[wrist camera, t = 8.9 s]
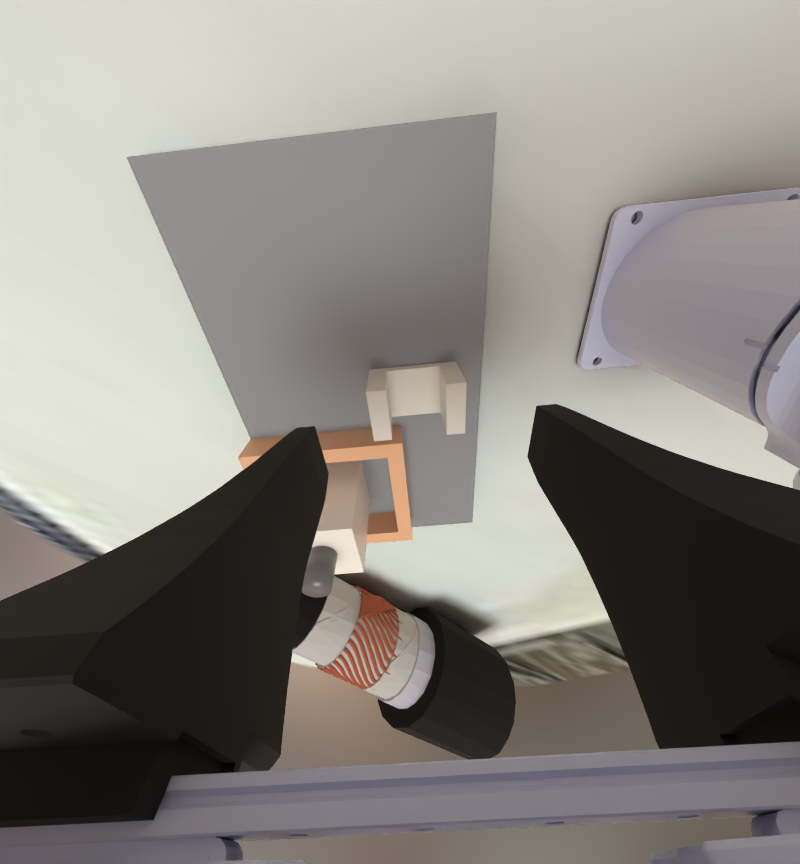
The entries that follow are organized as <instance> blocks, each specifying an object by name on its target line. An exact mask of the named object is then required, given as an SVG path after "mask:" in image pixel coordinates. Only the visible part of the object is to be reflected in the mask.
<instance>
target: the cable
mask: <svg viewBox="0 0 800 864" xmlns="http://www.w3.org/2000/svg"><path fill="white" fill-rule="evenodd" d="M292 652H293V653H295V654H297V655H299V656H302V657H304V658H306V659H308V660H310V661H313V662H315V663H316V664H315V665H317V666H318V667H317V668H318V669H320V670H322V671H324V672H326V673H328V674H332V675H333V676H335V677H337V678H341V679H342V680H344V681H346V682H349V683H351V684H353V685H355V686H357V687H358V688H361V689H363V690H365V691H367V692H370V693H372V694H374V695H375V696H376V698H378V703H379V706H380V710H381V713H382V716H383V717H384V718H385V720H386V721H387V722H388V723H389V724H390V725H391V726H392V727H393V728H395V729H397V730H400V731H402V732H404V733H407V734H409V735H412V736H414V737H416V738H419V739H421V740H424V741H426V742H428V743H431V744H433V745H435V746H438V747H440V748H442V749H445V750H447V751H449V752H452V753H454V754H457V755H459V756H461V757H464V758H466V759H468V760H472V759H490V758H492V757H493V756H495V755H497V754H499V752H500V751H501V749H502V748H503V746H504V745H505V743H506V741H507V740H508V738H509V735H510V732H511V729H512V726H513V723H514V715H515V703H516V701H515V689H514V682H513V679H512V677H511V674H510V671H509V668H508V665H507V663H506V661H505V660H504V659H503V658H502V656H501V655H500V654H499V653H498V651H497V650H496V649H495V648H493V647H491V646H490V645H488V644H486V643H485V642H483V641H481V640H480V639H478V638H476V637H475V636H473V635H472V634H470V633H468V632H467V631H465V630H463V629H462V628H460V627H458V626H457V625H455V624H453V623H452V622H450V621H448V620H447V619H445V618H443V617H442V616H440V615H438V614H437V613H435V612H433V611H432V610H430V609H428V608H417V609H416V610H414V611H412V612H411V613H407V612H403V611H401V610H399V609H397V608H395V607H394V606H392V605H391V604H390V603H389V602H388V601H386V600H385V599H384V598H382V597H380V596H376V595H373V594H371V593H369V592H368V591H366V590H364V589H363V588H361V587H359V586H357V585H355V586H354V585H350V584H348V583H346V582H345V581H343V580H341V579H339V578H338V577H336V576H334V579H333V585H332V591H331V593H330V594H329V595H327V596H325V597H318V598H317V597H310V596H307V595H305V594H303V593H301V598H300V604H299V610H298V616H297V623H296V629H295V636H294V642H293V649H292Z"/></svg>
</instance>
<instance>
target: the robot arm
mask: <svg viewBox="0 0 800 864" xmlns="http://www.w3.org/2000/svg"><path fill="white" fill-rule="evenodd" d="M788 198H789V200H787V199H788ZM635 212H636V213H637V219H636V221H635V222H634V223H633V224H632V223H631V218H632V216H633V214H634V213H635ZM597 357H598V360H597V361H596V362H595V363H593V360H594V359H595V358H597ZM577 365H578V366H579V367H580V368H581V369H583V370H590V369H601V368H611V367H622V366H633V365H644V366H646V367H648V368H650V369H652V370H654V371H656V372H658V373H660V374H662V375H664V376H666V377H668V378H670V379H672V380H674V381H676V382H678V383H680V384H682V385H684V386H686V387H688V388H690V389H692V390H694V391H696V392H698V393H699V394H701V395H703V396H705V397H707V398H709V399H711V400H713V401H715V402H717V403H719V404H721V405H723V406H725V407H727V408H729V409H731V410H733V411H735V412H737V413H739V414H741V415H743V416H745V417H747V418H749V419H751V420H753V421H755V422H757V423H758V424H760V425H762V426H764V427H766V428H767V430H768V438H767V441H766V444H765V447H764V449H766V450H768V451H769V452H771V453H773V454H775V455H776V456H778V457H780V458H782V459H783V460H785V461H787V462H789V463H790V464H792V465H794V466H796V467H798V468H799V470H798V471H797V473H796V475H795V477H794V479H793V488H789V487H785V486H782V485H778V484H774V483H771V482H767V481H763V480H759V479H756V478H752V477H748V476H745V475H741V474H738V473H734V472H731V471H728V470H724V469H721V468H718V467H715V466H712V465H708V464H705V463H702V462H699V461H696V460H693V459H690V458H687V457H684V456H681V455H679V454H676V453H673V452H670V451H668V450H665V449H662V448H660V447H657V446H655V445H652V444H650V443H647V442H645V441H642V440H639V439H637V438H635V437H632V436H630V435H628V434H625V433H623V432H621V431H618V430H616V429H614V428H611V427H609V426H607V425H605V424H602V423H600V422H598V421H596V420H593V419H591V418H589V417H587V416H585V415H582V414H580V413H578V412H575V411H573V410H571V409H568V408H566V407H563V406H560V405H557V404H553V405H542V406H536V412H535V417H534V423H533V429H532V434H531V440H530V446H529V451H528V459H529V462H530V464H531V467H532V469H533V472H534V474H535V476H536V479H537V481H538V483H539V485H540V486H541V488H542V490H543V492H544V493H545V495H546V497H547V498H548V500H549V502H550V503H551V505H552V507H553V508H554V510H555V512H556V513H557V515H558V517H559V518H560V520H561V521H562V523H563V525H564V526H565V528H566V530H567V531H568V533H569V535H570V536H571V538H572V540H573V541H574V543H575V545H576V547H577V549H578V550H579V552H580V554H581V556H582V558H583V560H584V562H585V565H586V567H587V569H588V571H589V573H590V575H591V577H592V579H593V582H594V584H595V586H596V588H597V590H598V593H599V595H600V597H601V600H602V602H603V604H604V606H605V609H606V611H607V613H608V616H609V618H610V620H611V622H612V625H613V627H614V630H615V632H616V635H617V637H618V640H619V642H620V645H621V647H622V650H623V652H624V655H625V657H626V660H627V662H628V665H629V667H630V670H631V673H632V675H633V678H634V681H635V683H636V686H637V689H638V692H639V694H640V697H641V700H642V702H643V705H644V708H645V711H646V713H647V716H648V719H649V722H650V725H651V728H652V731H653V734H654V736H655V739H656V742H657V744H658V746H659V748H660V749H654V750H637V751H618V752H600V753H581V754H563V755H545V756H526V757H508V758H490V759H472V760H455V761H454V760H453V761H435V762H418V763H399V764H382V765H381V764H380V765H362V766H344V767H326V768H308V769H289V770H271V771H269V769H270V768H271V767H272V766H273V765H274V764H275V762H276V761H277V759H278V758H279V756H280V755H281V743H282V733H283V724H284V715H285V706H286V696H287V687H288V680H289V672H290V665H291V657H292V649H293V642H294V636H295V629H296V623H297V616H298V610H299V604H300V598H301V593H302V587H303V581H304V576H305V572H306V567H307V563H308V559H309V556H310V552H311V549H312V545H313V542H314V538H315V535H316V531H317V528H318V524H319V521H320V517H321V514H322V510H323V506H324V503H325V498H326V492H327V484H328V476H329V473H328V469H327V466H326V462H325V459H324V455H323V452H322V449H321V445H320V442H319V438H318V435H317V431H316V428H315V426H310V427H299V428H296V429H294V430H293V431H291V432H290V433H289V434H287V435H286V436H285V437H284V438H282V439H281V440H280V441H279V442H278V443H276V444H275V445H274V446H273V447H272V448H270V449H269V450H268V451H267V452H265V453H264V454H263V455H262V456H261V457H259V458H258V459H257V460H256V461H254V462H253V463H252V464H251V465H249V466H248V467H247V468H245V469H244V470H243V471H241V472H240V473H239V474H237V475H236V476H235V477H234V478H232V479H231V480H230V481H228V482H227V483H226V484H224V485H223V486H221V487H220V488H219V489H217V490H216V491H214V492H213V493H211V494H210V495H208V496H207V497H205V498H204V499H202V500H201V501H199V502H197V503H196V504H194V505H193V506H191V507H190V508H188V509H186V510H185V511H183V512H182V513H180V514H178V515H176V516H175V517H173V518H171V519H169V520H167V521H166V522H164V523H162V524H160V525H159V526H157V527H155V528H153V529H152V530H150V531H148V532H146V533H144V534H143V535H141V536H139V537H137V538H135V539H133V540H131V541H129V542H127V543H126V544H124V545H122V546H120V547H118V548H116V549H114V550H112V551H110V552H108V553H106V554H104V555H102V556H99V557H97V558H95V559H93V560H91V561H89V562H87V563H85V564H83V565H81V566H79V567H76V568H74V569H72V570H70V571H68V572H66V573H63V574H61V575H59V576H57V577H54V578H52V579H50V580H47V581H45V582H43V583H40V584H38V585H36V586H33V587H31V588H29V589H26V590H24V591H22V592H19V593H17V594H15V595H13V596H10V597H8V598H6V599H4V600H1V601H0V864H308V863H307V862H306V861H305V860H290V861H289V860H285V861H282V860H278V861H277V860H275V861H273V860H269V861H243V853H242V849H241V847H240V845H239V843H238V842H235V841H253V840H275V839H295V838H317V837H337V836H358V835H380V834H401V833H421V832H443V831H464V830H484V829H485V830H486V829H507V828H527V827H548V826H568V825H591V824H609V823H610V824H612V823H630V822H631V823H633V822H654V821H675V820H696V819H717V818H737V817H754V818H752V822H751V832H752V836H753V837H752V838H741V839H728V840H716V841H706V842H702V843H699V844H697V845H694V846H689V847H685V848H679V849H672V850H665V851H659V852H652V853H651V858H650V861H651V863H652V864H800V187H795V188H786V189H777V190H768V191H759V192H750V193H741V194H732V195H723V196H713V197H704V198H695V199H686V200H677V201H668V202H659V203H650V204H641V205H632V206H624V207H621V208H619V209H618V210H617V211H616V212H615V213H614V215H613V216H612V219H611V222H610V226H609V230H608V234H607V239H606V243H605V247H604V251H603V255H602V259H601V264H600V268H599V272H598V276H597V280H596V284H595V289H594V293H593V297H592V301H591V305H590V310H589V314H588V318H587V322H586V326H585V330H584V335H583V339H582V343H581V347H580V351H579V356H578V360H577Z"/></svg>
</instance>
